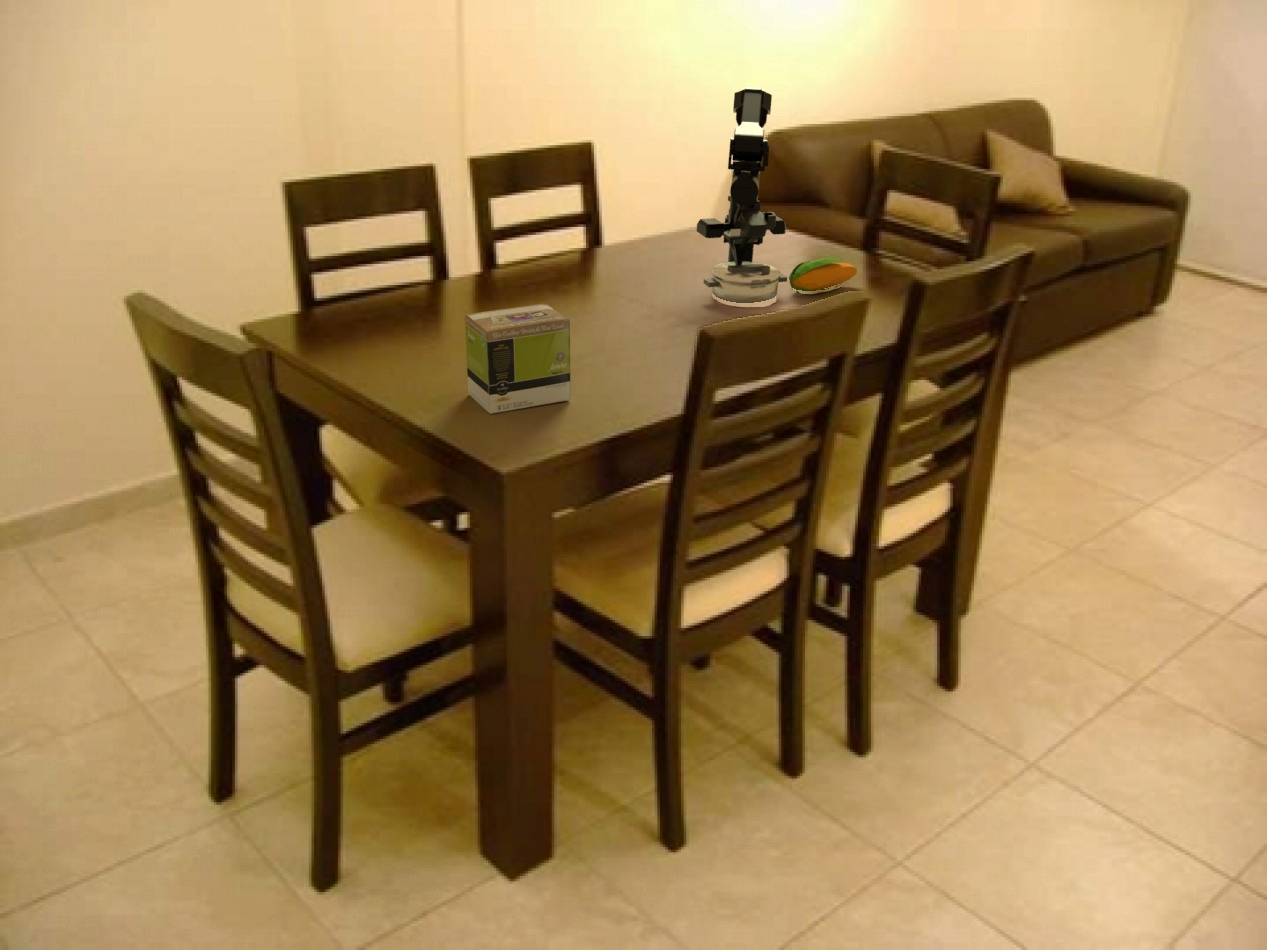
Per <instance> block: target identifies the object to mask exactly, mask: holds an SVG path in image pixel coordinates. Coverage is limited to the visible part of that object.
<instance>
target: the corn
mask: <svg viewBox="0 0 1267 950" xmlns="http://www.w3.org/2000/svg"><path fill="white" fill-rule="evenodd" d="M840 261H843V258H841V257H840V258H838V257H837V258H835V257H826V258H819V259H815V260H811V261H805V262H800V263H799V264H798V265H796V266H795V267H794V268H793V269H792V271H791V272H790V274H789V277H788V280H789V285H790V287H791V289H792V288H794V289H796V290H802V291H816V290H819V289H820V290H825V289H824V288H828V287H831V286H834V285H837V284H841V283H843V282H845V281H846V282H848V281H849V280H851V279H853V278H854V276H856V275H857V273H858V269H857V268H856V267H855V266H854V265H852V264H851V263H849V262H847V263H845V262H840ZM847 280H848V281H847ZM846 282H845V283H846ZM841 285H842V284H841ZM828 289H829V288H828Z"/></svg>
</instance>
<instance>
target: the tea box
mask: <svg viewBox="0 0 1267 950" xmlns="http://www.w3.org/2000/svg"><path fill="white" fill-rule="evenodd" d="M464 318H465V319H464V324H465V341H466V343H465V344H466V372H467V388H468V390H467V391H468V394H469V395H470V397H471V398H472V399H473V400H474V401H475V402H477V404H478V405H479V406H480V407H481V408H483V409H484V410H485V411H486V412H487V413H488V414H490V415H491V414H498V413H502V412H508V411H514V410H520V409H525V408H532V407H536V406H537V407H538V406H542V405H549V404H555V403H559V402H561V403H562V402H567V401H571V399H572V398H571V395H572V393H571V387H572V386H571V321H570V318H568V317H567V316H565V315H563V314H561V313H560V312H559V311H557V310H556V309H553V308H552V307H551V306H549V305H548V304H547V303H538V304H536V303H535V304H530V305H524V306H517V307H511V308H501V309H496V310H488V311H487V310H486V311H482V312H475V313H473V312H472V313H467V314H466V313H465V317H464Z"/></svg>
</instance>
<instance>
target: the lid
mask: <svg viewBox="0 0 1267 950" xmlns="http://www.w3.org/2000/svg"><path fill="white" fill-rule="evenodd" d="M724 262H725V261H724ZM711 274H712V277H713V276H714V277H715V278H717V279H719V280H722V281H726V282H730V283H736V284H746V285H762V284H770V283H773V282H776V281H778V280H779V279H780V274H782V273H781V271H780V269H779V268H777V267H776V266H772V265H769V264H766V263H761V262H754V261H752V262H742V264H741V265H736V264H735V262H728V261H726V262H725V263H723V262H722V263H717V264H715V265H714V266H712V271H711Z"/></svg>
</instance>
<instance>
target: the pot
mask: <svg viewBox="0 0 1267 950" xmlns="http://www.w3.org/2000/svg"><path fill="white" fill-rule="evenodd" d="M786 282H787V283H788V276H787V275H785V274H783V273H781V274H780V279H779V280H778V281H776V282H773V283H770V284H762V285H746V284H736V283H730V282H726V281H722V280H719V279H717V278H715V277H714V276H713V275H712V277H709V278H707V277H706V278H703V284H704V285H705V286H707V287H708V288H712V289H711V294H712V293H713V294H714V295H715V296H716V297H718V298H720V299H723V300H726V301H730V302H736V303H754V302H761V301H766V300H769V299H772V298H774V297H775V296H776V295H777V296H778V292H779V291H778V289H779V288H778V287H779V283H786Z"/></svg>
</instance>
